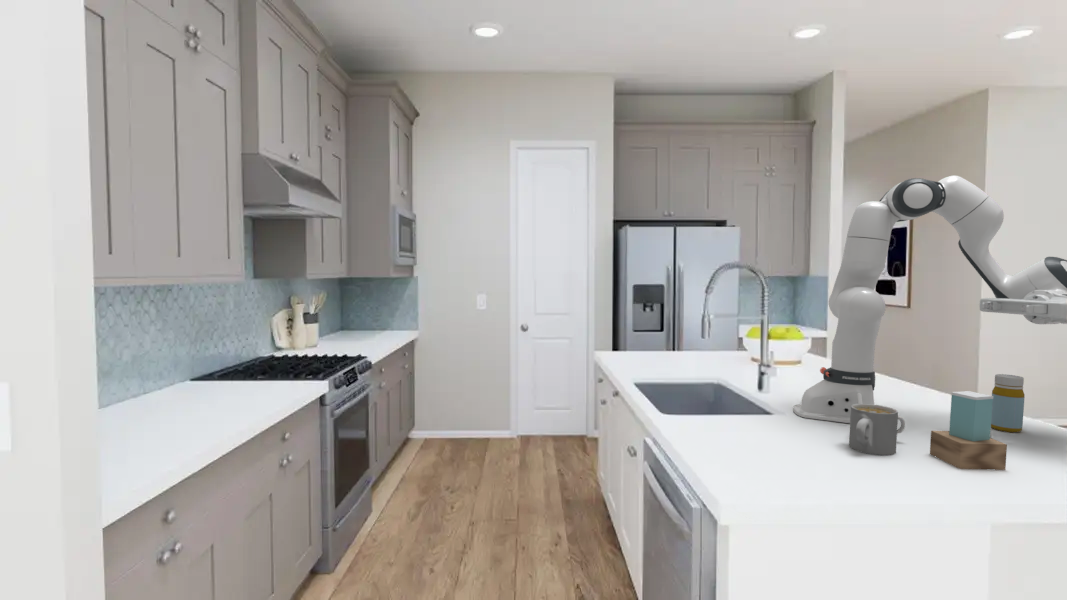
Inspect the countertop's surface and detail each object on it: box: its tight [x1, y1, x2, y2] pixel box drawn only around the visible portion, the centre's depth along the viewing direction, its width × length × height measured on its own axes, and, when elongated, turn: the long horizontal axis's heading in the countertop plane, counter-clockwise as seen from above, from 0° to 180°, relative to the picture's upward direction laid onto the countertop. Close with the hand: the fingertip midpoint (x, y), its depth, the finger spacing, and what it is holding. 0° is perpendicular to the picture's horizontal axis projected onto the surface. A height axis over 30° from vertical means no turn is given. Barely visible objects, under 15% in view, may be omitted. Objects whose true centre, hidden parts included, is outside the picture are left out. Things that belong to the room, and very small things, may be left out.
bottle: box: [991, 373, 1025, 433], centre depth 160 cm, size 7×7×15 cm
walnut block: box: [929, 430, 1008, 471], centre depth 133 cm, size 10×10×6 cm
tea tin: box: [948, 390, 993, 441], centre depth 132 cm, size 6×6×10 cm
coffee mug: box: [848, 404, 899, 456], centre depth 140 cm, size 13×10×10 cm
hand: (1004, 307), depth 144 cm, fingers open, 8 cm apart
